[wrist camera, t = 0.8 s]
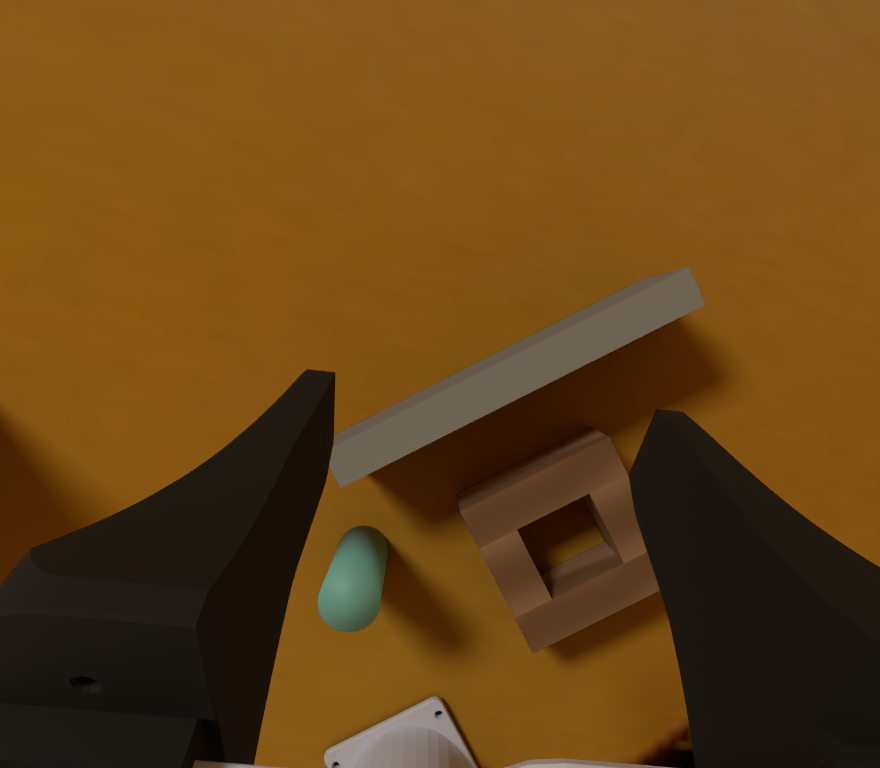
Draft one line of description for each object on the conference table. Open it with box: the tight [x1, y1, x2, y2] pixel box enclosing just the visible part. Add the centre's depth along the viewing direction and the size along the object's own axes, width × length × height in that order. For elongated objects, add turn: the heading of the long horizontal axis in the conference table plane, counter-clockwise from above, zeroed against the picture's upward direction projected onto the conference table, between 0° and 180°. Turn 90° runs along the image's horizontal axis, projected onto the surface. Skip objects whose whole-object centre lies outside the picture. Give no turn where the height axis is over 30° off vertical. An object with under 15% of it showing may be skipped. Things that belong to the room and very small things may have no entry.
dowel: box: [318, 526, 389, 632], centre depth 32 cm, size 3×3×7 cm
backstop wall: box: [329, 267, 705, 488], centre depth 32 cm, size 2×20×6 cm, turn 117°
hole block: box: [457, 427, 660, 653], centre depth 34 cm, size 9×9×4 cm
